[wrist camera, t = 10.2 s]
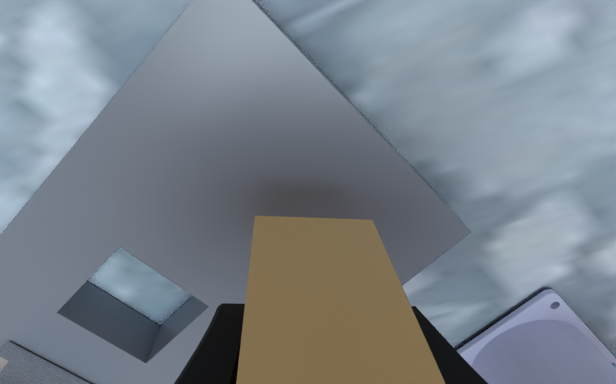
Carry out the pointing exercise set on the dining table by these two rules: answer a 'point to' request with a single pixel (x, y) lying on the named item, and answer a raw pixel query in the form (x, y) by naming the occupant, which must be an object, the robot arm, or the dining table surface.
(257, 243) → the plug
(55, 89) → the dining table surface
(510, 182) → the dining table surface
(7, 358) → the panel
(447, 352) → the robot arm
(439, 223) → the socket plate
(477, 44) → the dining table surface
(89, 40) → the dining table surface
